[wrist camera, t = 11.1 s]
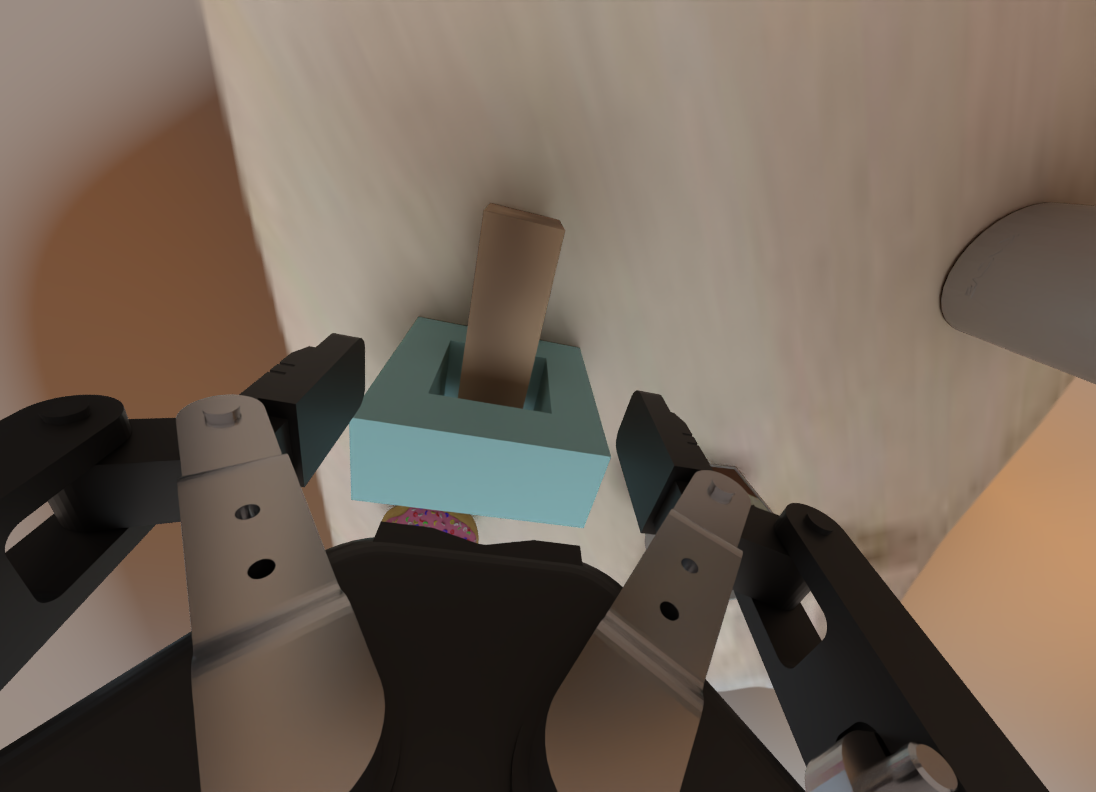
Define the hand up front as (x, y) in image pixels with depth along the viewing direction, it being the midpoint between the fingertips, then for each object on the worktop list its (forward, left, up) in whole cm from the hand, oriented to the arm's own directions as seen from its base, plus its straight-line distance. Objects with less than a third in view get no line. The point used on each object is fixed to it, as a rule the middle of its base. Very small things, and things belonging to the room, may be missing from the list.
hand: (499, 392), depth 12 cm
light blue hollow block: (0, +8, -17) cm, 19 cm away
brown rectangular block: (0, +6, -14) cm, 16 cm away
